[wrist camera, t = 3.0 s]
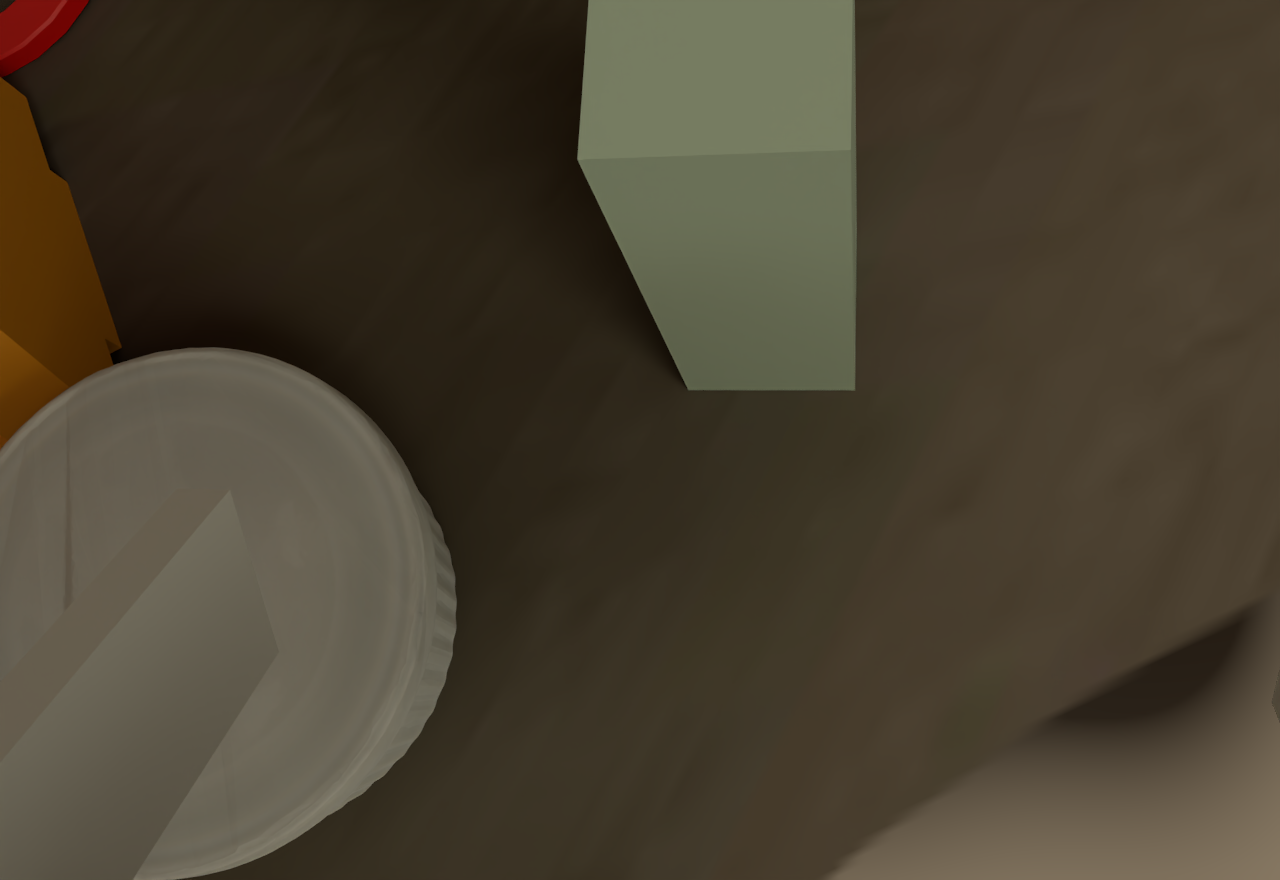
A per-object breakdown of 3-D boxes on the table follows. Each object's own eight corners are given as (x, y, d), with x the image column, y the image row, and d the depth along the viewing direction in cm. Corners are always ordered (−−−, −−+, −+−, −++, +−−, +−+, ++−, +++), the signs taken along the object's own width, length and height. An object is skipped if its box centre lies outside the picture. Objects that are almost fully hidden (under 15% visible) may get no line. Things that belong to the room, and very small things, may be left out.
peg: (688, 389, 29) (577, 159, 18) (695, 237, 30) (593, -75, 19) (855, 390, 29) (850, 149, 17) (856, 234, 29) (854, -93, 18)
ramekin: (-1, 603, 31) (-167, 574, 26) (325, 321, 32) (223, 241, 27) (227, 964, 28) (88, 1012, 23) (589, 646, 28) (530, 623, 23)
